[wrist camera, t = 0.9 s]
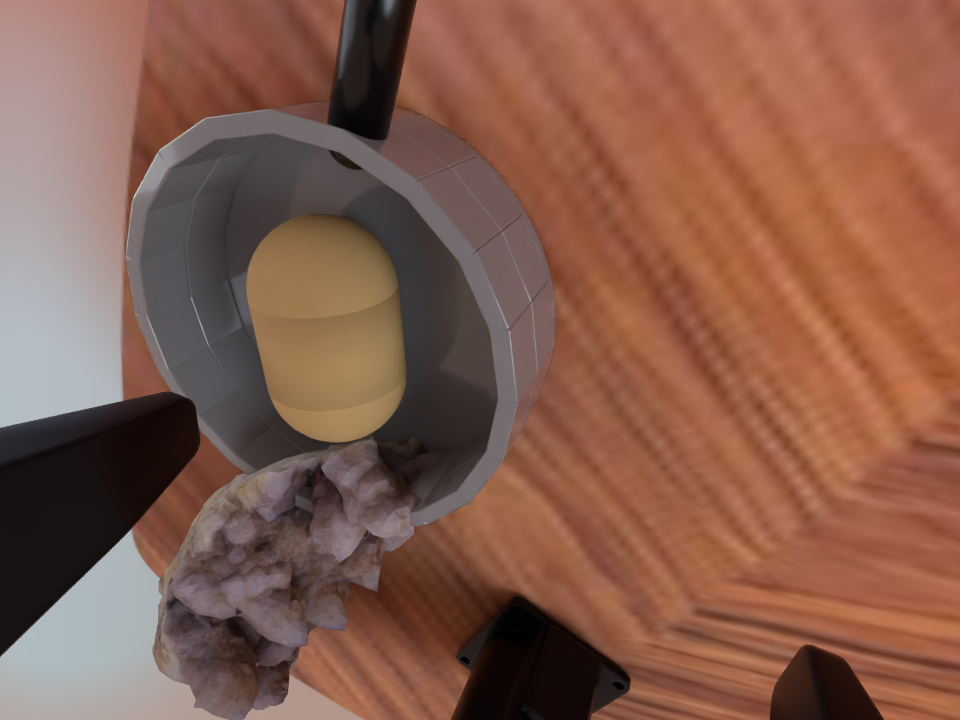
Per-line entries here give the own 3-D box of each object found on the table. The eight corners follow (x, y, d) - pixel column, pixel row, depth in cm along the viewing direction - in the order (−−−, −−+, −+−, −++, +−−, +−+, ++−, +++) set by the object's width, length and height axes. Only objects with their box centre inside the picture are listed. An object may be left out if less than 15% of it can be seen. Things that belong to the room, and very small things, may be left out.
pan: (449, 511, 26) (402, 589, 22) (197, 329, 27) (110, 375, 23) (643, 260, 18) (617, 317, 14) (271, 9, 18) (154, 0, 15)
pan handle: (390, 173, 16) (360, 184, 15) (342, 151, 17) (309, 160, 15) (473, -204, 12) (440, -234, 11) (406, -227, 12) (366, -259, 11)
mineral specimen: (181, 368, 19) (160, 709, 14) (453, 385, 24) (511, 644, 19) (154, 561, 34) (138, 765, 28) (327, 547, 38) (340, 719, 33)
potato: (432, 408, 23) (369, 484, 19) (329, 388, 24) (251, 453, 20) (418, 203, 19) (334, 244, 15) (297, 194, 21) (193, 230, 17)
